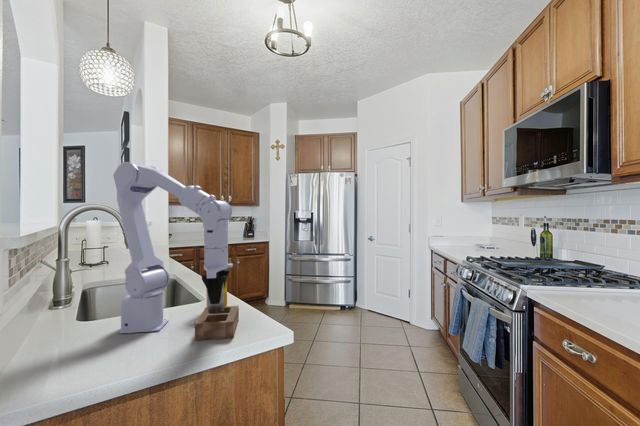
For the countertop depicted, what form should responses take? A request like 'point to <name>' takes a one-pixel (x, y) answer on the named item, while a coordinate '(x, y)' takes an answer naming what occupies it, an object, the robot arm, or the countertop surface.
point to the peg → (216, 307)
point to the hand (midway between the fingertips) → (216, 300)
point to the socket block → (217, 324)
